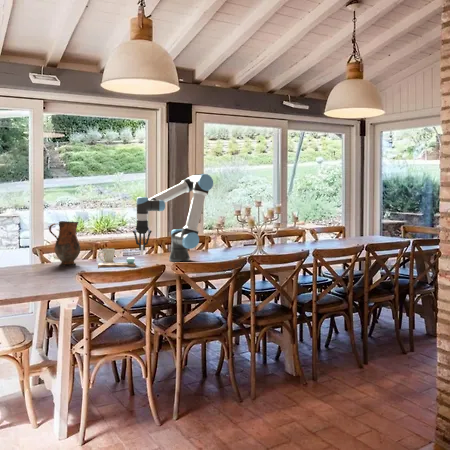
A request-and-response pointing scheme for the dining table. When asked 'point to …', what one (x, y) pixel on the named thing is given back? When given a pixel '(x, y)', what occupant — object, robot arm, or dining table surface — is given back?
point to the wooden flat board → (115, 265)
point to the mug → (107, 255)
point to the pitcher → (67, 243)
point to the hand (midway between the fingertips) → (142, 255)
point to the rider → (130, 260)
